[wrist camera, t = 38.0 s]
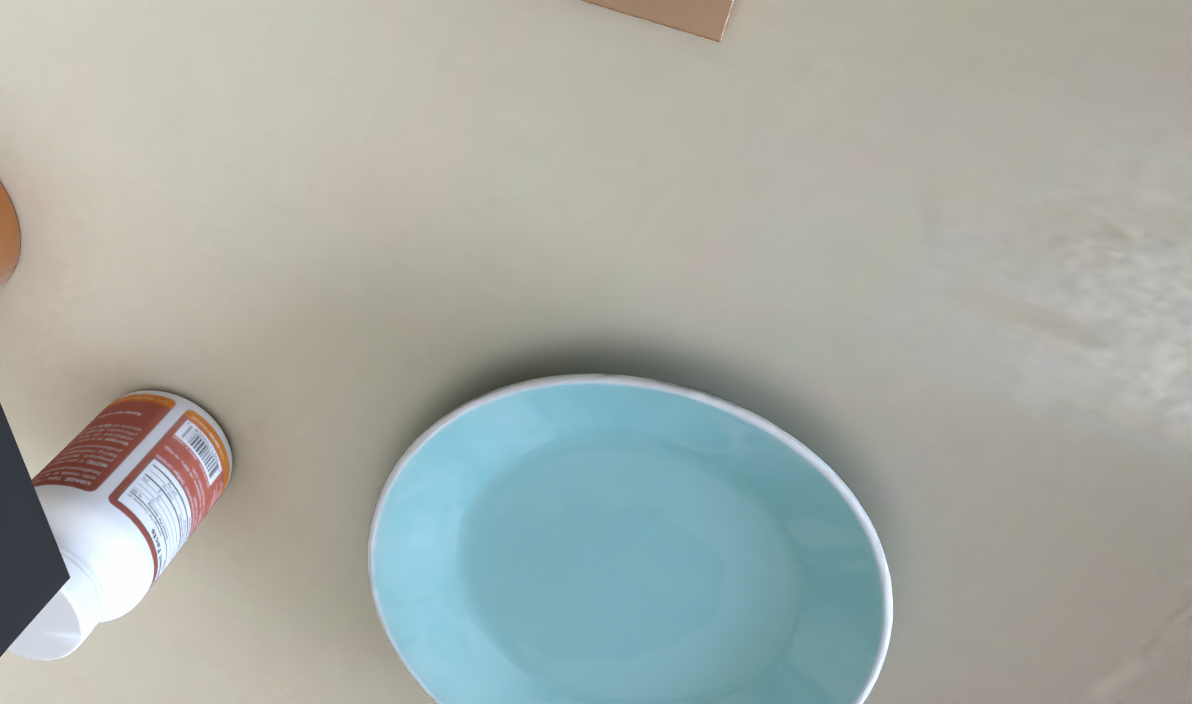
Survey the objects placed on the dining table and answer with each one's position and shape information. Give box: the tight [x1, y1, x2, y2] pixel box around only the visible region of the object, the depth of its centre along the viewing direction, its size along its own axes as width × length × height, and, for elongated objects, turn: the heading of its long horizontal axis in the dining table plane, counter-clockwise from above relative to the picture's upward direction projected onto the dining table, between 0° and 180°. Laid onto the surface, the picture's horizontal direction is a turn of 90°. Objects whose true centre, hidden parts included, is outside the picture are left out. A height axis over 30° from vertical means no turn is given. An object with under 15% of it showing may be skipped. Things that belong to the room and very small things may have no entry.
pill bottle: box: [7, 390, 232, 660], centre depth 44 cm, size 6×6×11 cm
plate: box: [367, 373, 893, 704], centre depth 47 cm, size 22×22×3 cm
